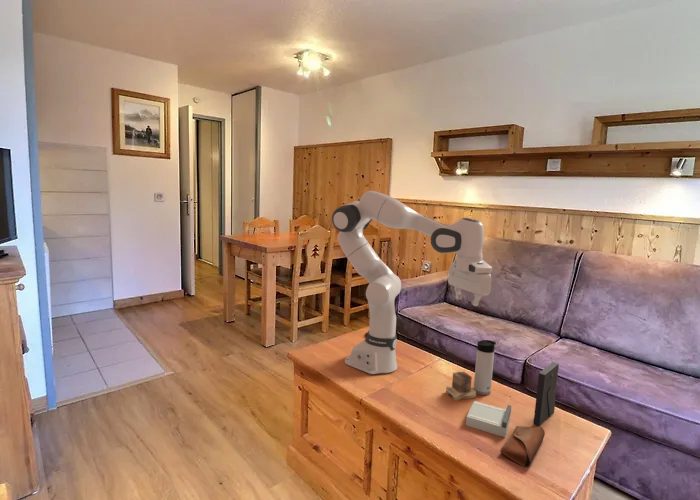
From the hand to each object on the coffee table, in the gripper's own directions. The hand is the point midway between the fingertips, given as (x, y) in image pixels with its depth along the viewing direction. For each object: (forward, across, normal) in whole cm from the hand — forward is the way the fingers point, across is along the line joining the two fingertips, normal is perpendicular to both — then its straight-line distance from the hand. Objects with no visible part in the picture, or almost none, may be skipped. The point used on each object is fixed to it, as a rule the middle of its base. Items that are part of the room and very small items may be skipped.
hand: (466, 302), depth 141 cm
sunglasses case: (+37, +29, -1) cm, 47 cm away
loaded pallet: (+36, -2, +1) cm, 36 cm away
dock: (+36, +17, -1) cm, 40 cm away
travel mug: (+36, -2, +11) cm, 38 cm away
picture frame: (+37, +20, +19) cm, 46 cm away
